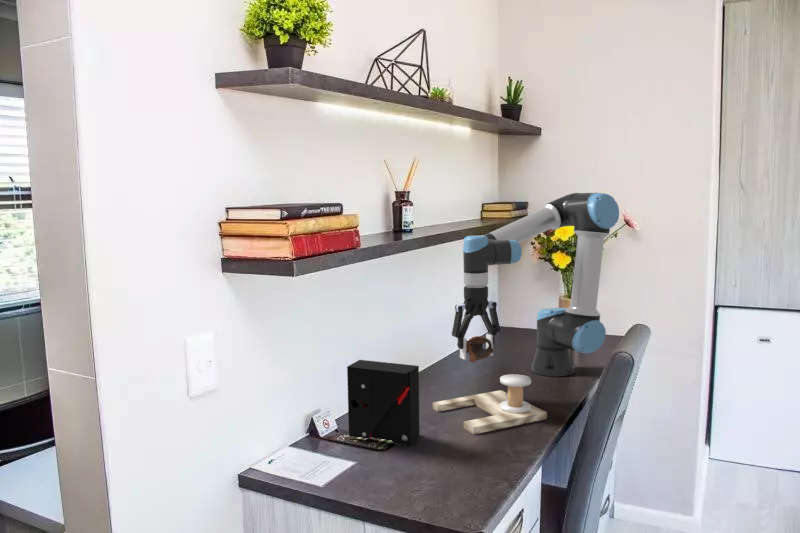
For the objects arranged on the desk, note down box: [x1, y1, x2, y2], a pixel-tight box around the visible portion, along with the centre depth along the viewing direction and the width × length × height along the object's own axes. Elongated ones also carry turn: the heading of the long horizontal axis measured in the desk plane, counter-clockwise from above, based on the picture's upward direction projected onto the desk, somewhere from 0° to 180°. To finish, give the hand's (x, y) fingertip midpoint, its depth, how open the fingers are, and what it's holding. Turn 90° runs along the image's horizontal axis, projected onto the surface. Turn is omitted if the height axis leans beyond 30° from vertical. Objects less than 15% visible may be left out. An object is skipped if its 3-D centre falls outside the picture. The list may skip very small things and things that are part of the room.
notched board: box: [432, 389, 548, 435], centre depth 187 cm, size 25×23×2 cm
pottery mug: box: [456, 335, 495, 364], centre depth 197 cm, size 12×10×8 cm
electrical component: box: [346, 359, 420, 447], centre depth 169 cm, size 18×10×20 cm, turn 66°
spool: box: [499, 373, 532, 414], centre depth 185 cm, size 9×9×9 cm
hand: (476, 356), depth 198 cm, fingers closed on pottery mug, 9 cm apart
